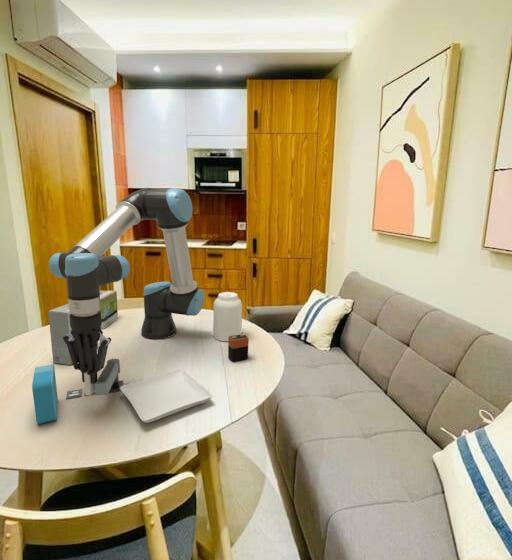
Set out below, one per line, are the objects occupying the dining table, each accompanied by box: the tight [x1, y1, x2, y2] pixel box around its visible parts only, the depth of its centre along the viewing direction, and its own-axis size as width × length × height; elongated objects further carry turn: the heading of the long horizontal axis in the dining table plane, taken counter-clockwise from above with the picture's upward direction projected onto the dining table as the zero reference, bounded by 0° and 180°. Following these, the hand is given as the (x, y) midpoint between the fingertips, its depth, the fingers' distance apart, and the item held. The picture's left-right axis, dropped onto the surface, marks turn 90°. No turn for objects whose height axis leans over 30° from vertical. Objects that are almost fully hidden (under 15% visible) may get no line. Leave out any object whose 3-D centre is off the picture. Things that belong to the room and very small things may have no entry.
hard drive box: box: [48, 303, 99, 366], centre depth 125 cm, size 16×8×20 cm, turn 168°
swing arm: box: [95, 358, 121, 396], centre depth 99 cm, size 15×4×5 cm, turn 8°
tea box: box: [100, 290, 119, 330], centre depth 159 cm, size 15×10×15 cm, turn 179°
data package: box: [31, 363, 59, 425], centre depth 92 cm, size 12×4×12 cm, turn 29°
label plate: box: [65, 388, 83, 400], centre depth 102 cm, size 4×4×1 cm
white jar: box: [212, 291, 243, 342], centre depth 147 cm, size 12×12×20 cm
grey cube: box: [108, 374, 124, 394], centre depth 106 cm, size 5×5×5 cm
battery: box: [227, 332, 250, 363], centre depth 128 cm, size 4×7×10 cm, turn 118°
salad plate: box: [120, 368, 213, 423], centre depth 101 cm, size 21×21×3 cm
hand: (90, 392), depth 93 cm, fingers closed
